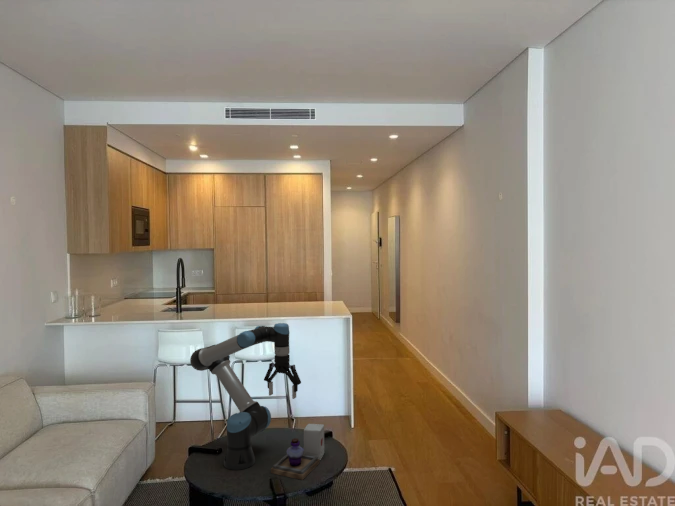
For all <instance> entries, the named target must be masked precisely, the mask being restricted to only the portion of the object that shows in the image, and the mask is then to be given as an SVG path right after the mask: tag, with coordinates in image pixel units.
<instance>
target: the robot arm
mask: <svg viewBox="0 0 675 506" xmlns="http://www.w3.org/2000/svg"><path fill="white" fill-rule="evenodd" d="M266 342H268V343H269V342H270V343H274V344H273V345H274V346H273V347H274V362H271V363H269V364H268V369H267V371H266V374H265V376H264V378H263V381H264V382H266V383H267V389H268V396H270V397H271V396H272V395H274V381H273V380H274V378H275V377H276V376H277V374H283V375H284V374H285V375H286V376H287V378H288V379H289V381H290V382H291V383H292V385H291V388H292V389H291V394H292V395H291V396H292V400H295V399H296V398H297V392H298V389H299V385H300V384H302V380H301V378H300V376H299V373H298V371H297V368H296V365H295V364H291V365H290V361H291V360H290V359H291V358H290V326H289V324H288V323H286V322H285V323H284V322H282V323H281V322H278V323H275V324H274V325H273V326H266V325H258V326H256V327H255V328H254V329H250V330H245V331H242V332H240V333H239V334H237V335H234V336H233V337H231V338H228V339H226V340H224V341H221V342H219V343H217V344H212V345H209V346H206V347H202V348H199V349H197V350H196V349H195V351H193V352H192V354H191V356H190V359H189V360H190V365H191V367H192V368H193V369H194V370H196V371H203V372H204V371H207V370H208V371H209V372H210V373H211V374H212V375H214V376H216V377H217V379H218V380H219V381H220V383H221V384H222V386H223V388H224V389H225V391H226V392H227V394H228V395H229V397H230V399H231V401H232V402H233V403H234V404H235V407H236V408H237V409H238V411H239V412H235V413H233V414H231V415H230V416H229V417H228V419H227V421H226V424H227V425H226V443H227V444H226V445H227V446H226V447H227V448H226V452H225V455H224V459H223V465H224V467H225V468H226V469H228V470H232V471H239V470H245V469H248V468H250V467H252V466H253V465H254V464H255V463H256V456H255V453H254V450H253V447H252V437H253V436H255V435H257V434H259V433H261V432H263V431H265V430H266V429H267V428H269V426H270V424H271V423H272V420H271V419H272V413H271V412H270V410H269V408H268V407H266V406H264V405H261V404H260V403H259V401H257V400H256V401H255V400H254V399H253V398H252V397H251V395H250V393H249V392H248V390H247V389H246V387H245V386H244V385H243V383H242V382H241V380H240V379H239V377H238V376H237V374H236V373H235V371H234V370H233V368H232V367H231V355H233V354H235V353H238V352H240V351H242V350H245V349H247V348H251V347H252V346H255V345H258V344H262V343H266ZM274 368H275V369H274ZM273 369H274V371H273ZM272 372H273V373H272Z"/></svg>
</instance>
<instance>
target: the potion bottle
mask: <svg viewBox="0 0 675 506" xmlns="http://www.w3.org/2000/svg"><path fill="white" fill-rule="evenodd" d="M300 443H301V442H300V440H299V438H296V437H295V438H292V439H291V441H290V447H287V449H286V454H287V455H288V457H289V462H290V465H291V466H296V467H297V466H299V465H301V459H302V456H303V455H304V447H302V446H301V445H300Z"/></svg>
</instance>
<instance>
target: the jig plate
mask: <svg viewBox="0 0 675 506" xmlns="http://www.w3.org/2000/svg"><path fill="white" fill-rule="evenodd" d="M320 463H321V460H320V459H318V457H313V456H308V455H304V454H303V456H302V459H301V465H299V466H297V467H296V466H291V465H290V462H289V457H288V455H287V453H286V454H285V455H283V456H282V458H281V459H279V460H278V461H276V463H274V464H273V465H272V467H271V468H270V474H272V475H278V476H283V477H287V478H292V479H296V480H297V479H298V480H301V481H303V480H304V479H305V478H306V477H308V475H309V474H311V472H313V470H315V469H316V468H317V466H318V465H319V464H320Z"/></svg>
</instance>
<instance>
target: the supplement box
mask: <svg viewBox="0 0 675 506" xmlns="http://www.w3.org/2000/svg"><path fill="white" fill-rule="evenodd" d="M303 448H304V451H303V455H308V456H313V457H318V459H320V461H321V460H322V458H323V456H324V454H325V424H323V423H322V424H319V423H307V425H306V426H305V428H304V429H303Z"/></svg>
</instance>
